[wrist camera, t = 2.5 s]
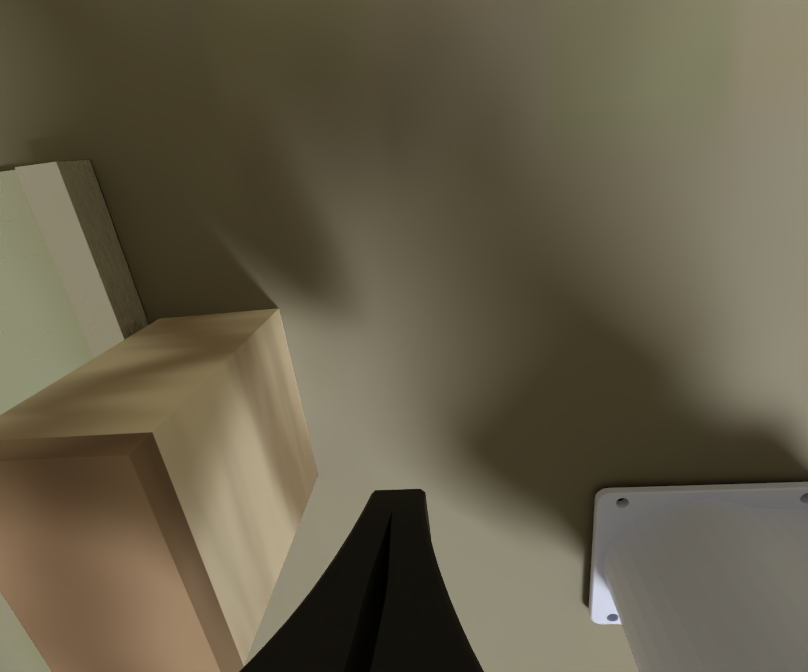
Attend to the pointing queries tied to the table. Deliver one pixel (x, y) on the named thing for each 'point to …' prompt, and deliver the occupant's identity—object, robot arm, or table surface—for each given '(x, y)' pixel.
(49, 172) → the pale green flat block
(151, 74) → the table surface
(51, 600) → the wooden block
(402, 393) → the table surface
